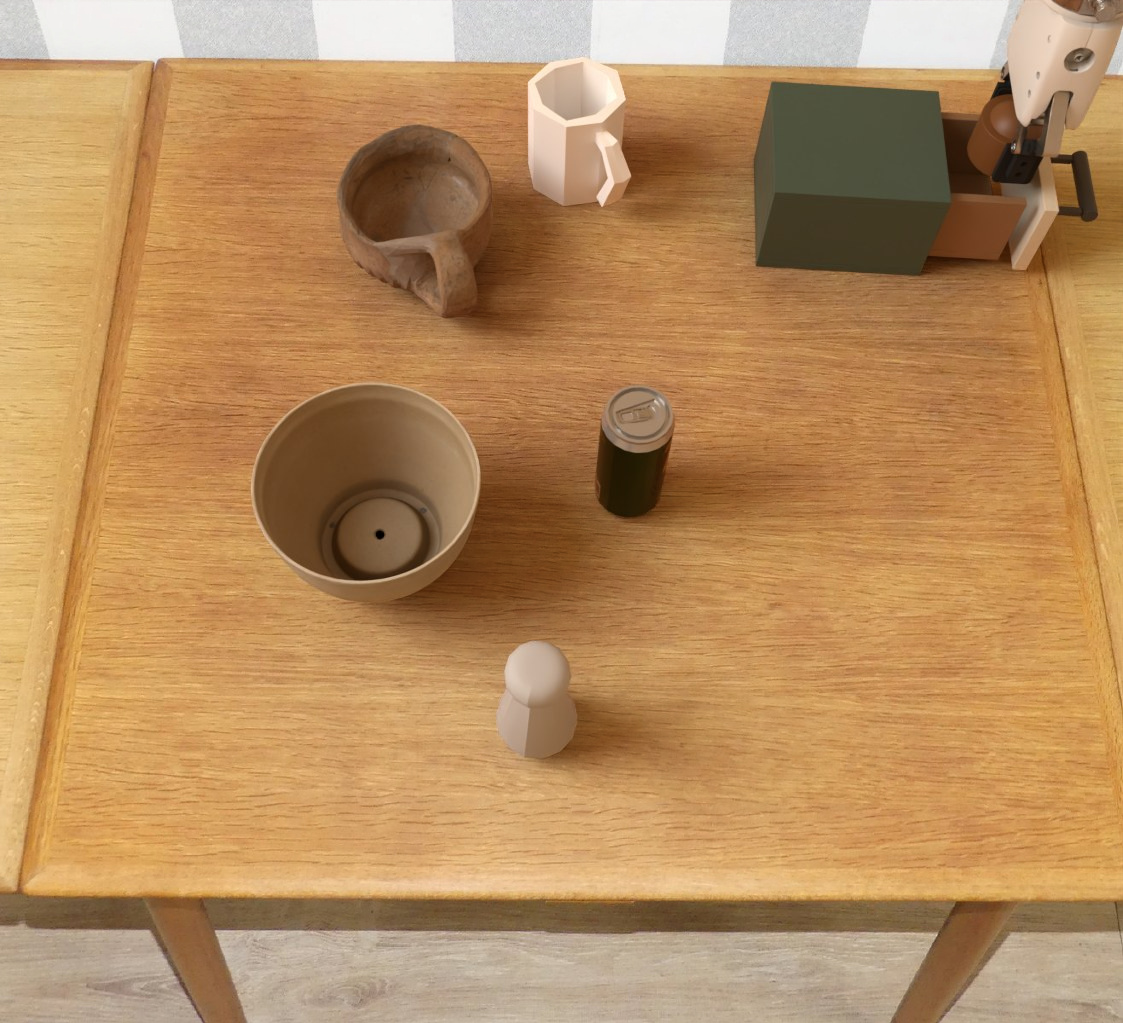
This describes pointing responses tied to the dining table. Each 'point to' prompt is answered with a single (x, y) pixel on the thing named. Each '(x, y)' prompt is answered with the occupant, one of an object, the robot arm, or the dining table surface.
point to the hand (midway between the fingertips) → (1005, 148)
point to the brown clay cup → (419, 214)
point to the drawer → (1003, 202)
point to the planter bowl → (367, 490)
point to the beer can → (633, 450)
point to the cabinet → (849, 178)
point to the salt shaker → (536, 701)
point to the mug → (577, 133)
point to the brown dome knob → (995, 133)
